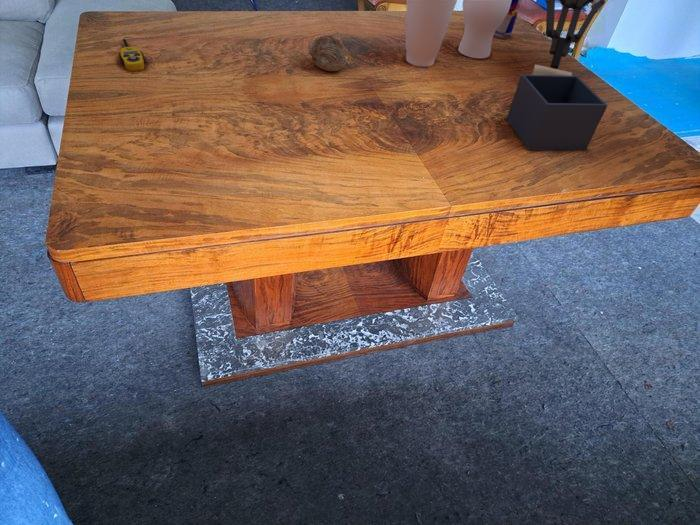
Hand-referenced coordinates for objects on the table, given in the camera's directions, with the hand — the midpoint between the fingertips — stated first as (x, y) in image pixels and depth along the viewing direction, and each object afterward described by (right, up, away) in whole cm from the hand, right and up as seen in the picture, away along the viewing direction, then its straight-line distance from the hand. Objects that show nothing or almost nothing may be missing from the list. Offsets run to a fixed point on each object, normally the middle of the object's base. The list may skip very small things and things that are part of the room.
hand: (553, 68), depth 113 cm
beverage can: (-3, +20, +28) cm, 35 cm away
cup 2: (-13, +11, +18) cm, 25 cm away
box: (-6, -17, -10) cm, 20 cm away
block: (-3, -9, -1) cm, 9 cm away
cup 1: (-28, +6, +11) cm, 31 cm away
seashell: (-51, +2, +4) cm, 51 cm away
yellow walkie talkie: (-94, +2, -1) cm, 94 cm away
